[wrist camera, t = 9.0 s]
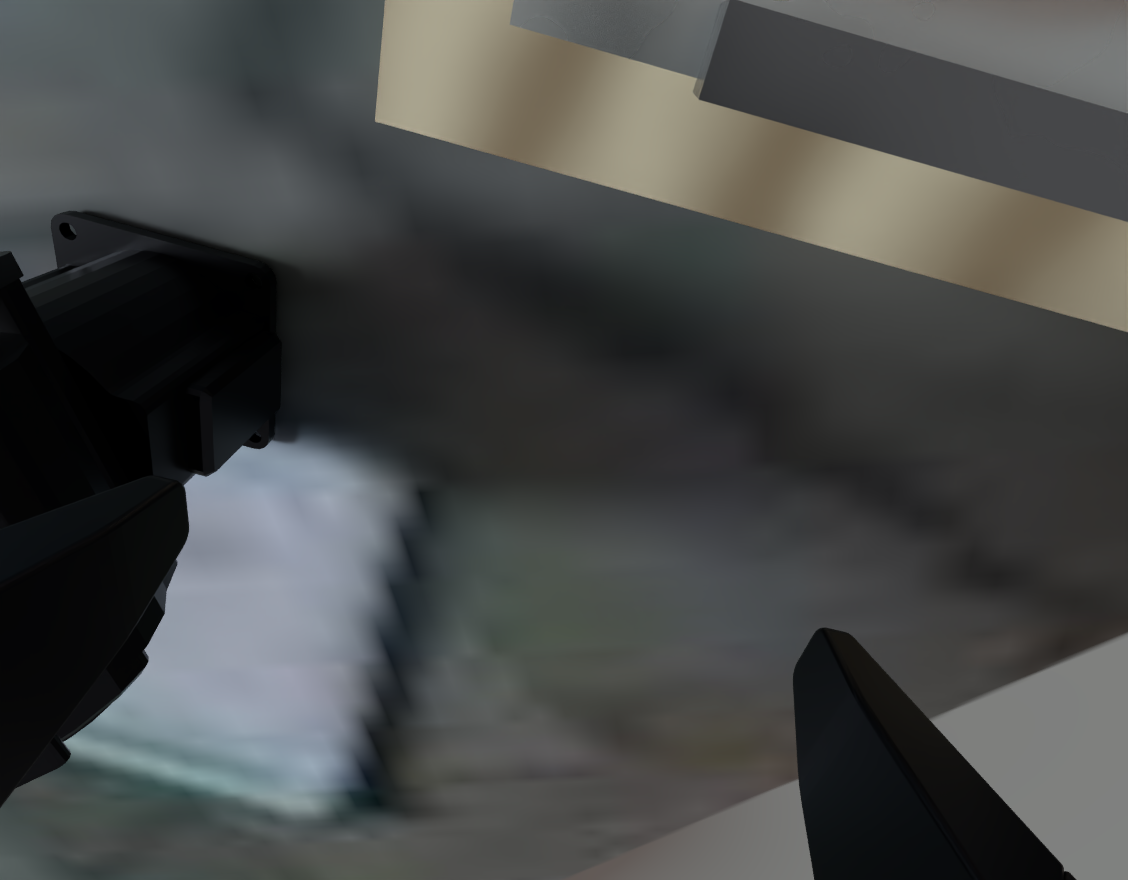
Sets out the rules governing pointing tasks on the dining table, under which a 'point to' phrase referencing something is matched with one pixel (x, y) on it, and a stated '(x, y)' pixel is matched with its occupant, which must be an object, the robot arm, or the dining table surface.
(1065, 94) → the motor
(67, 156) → the dining table surface
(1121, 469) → the dining table surface
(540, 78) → the mounting board
